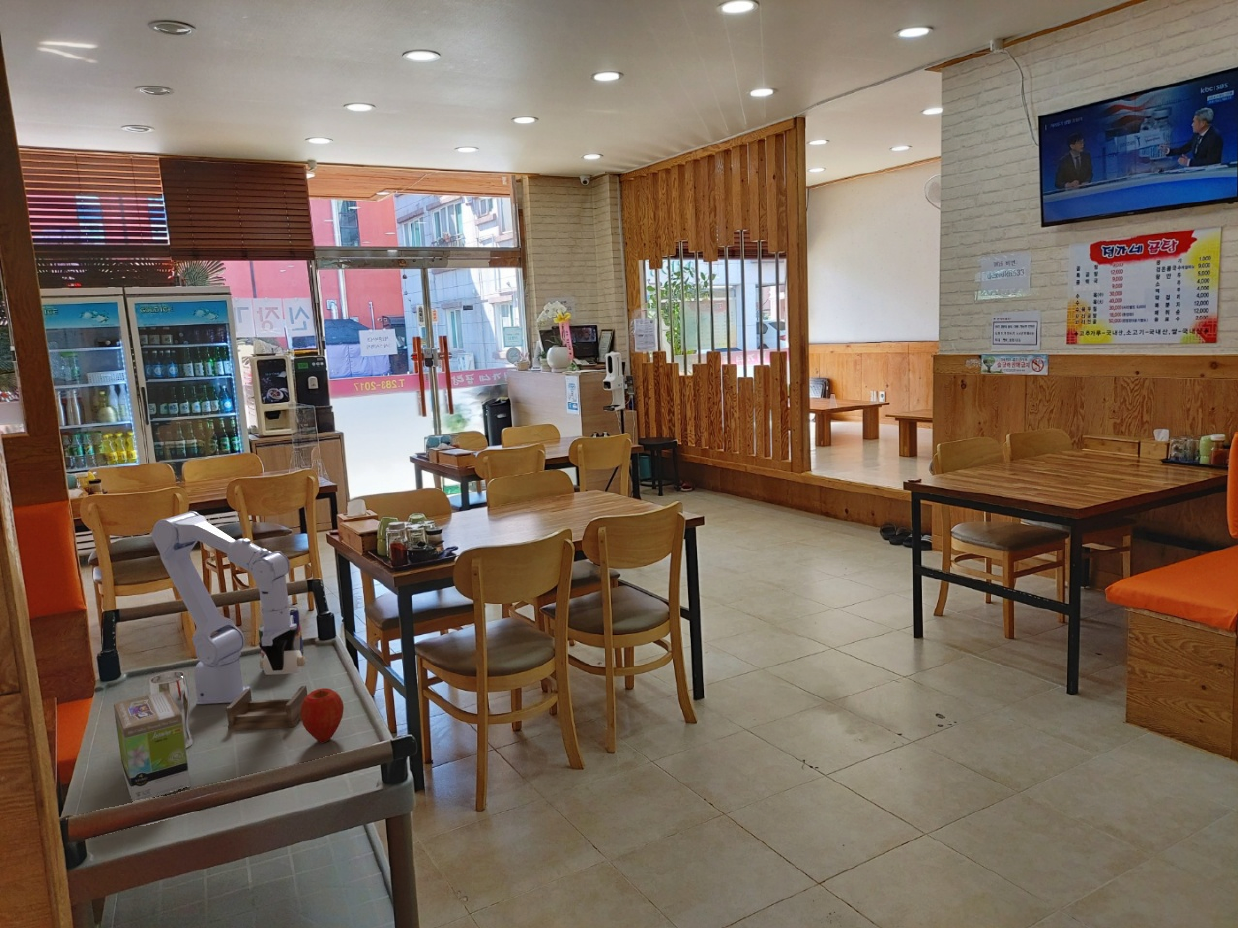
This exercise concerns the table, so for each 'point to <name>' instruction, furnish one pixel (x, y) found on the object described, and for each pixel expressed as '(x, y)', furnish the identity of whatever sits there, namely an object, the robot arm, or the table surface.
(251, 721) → the holder
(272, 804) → the table surface
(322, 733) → the apple
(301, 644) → the energy drink
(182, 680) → the beer glass
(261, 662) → the roll
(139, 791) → the tea box
